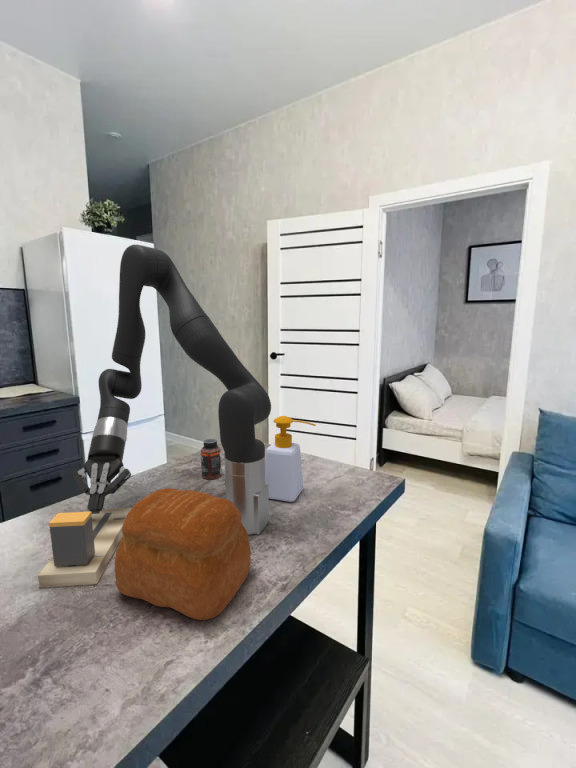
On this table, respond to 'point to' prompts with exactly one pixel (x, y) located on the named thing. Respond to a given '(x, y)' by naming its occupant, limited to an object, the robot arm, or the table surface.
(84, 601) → the table surface
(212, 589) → the bread
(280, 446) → the soap bottle
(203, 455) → the supplement bottle
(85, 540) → the fader knob
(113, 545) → the grooved wooden slider track
